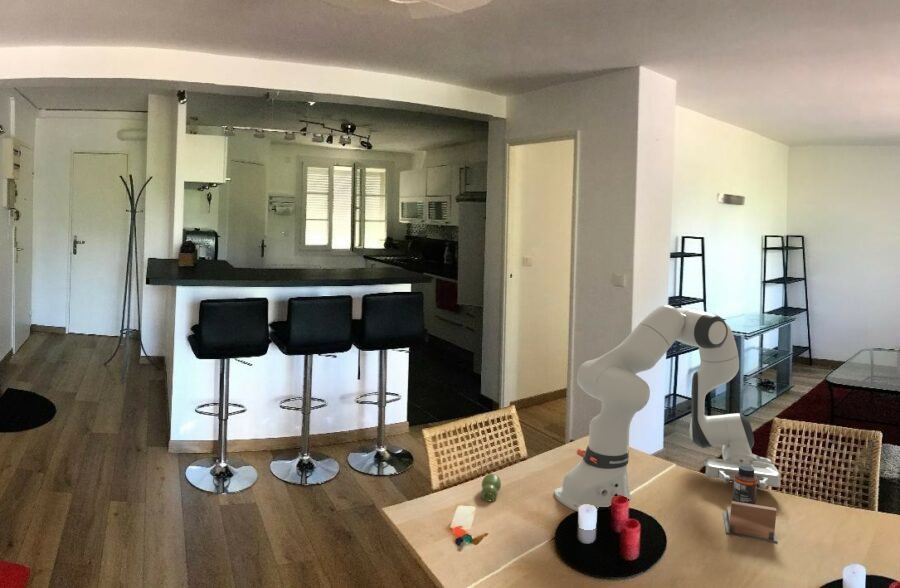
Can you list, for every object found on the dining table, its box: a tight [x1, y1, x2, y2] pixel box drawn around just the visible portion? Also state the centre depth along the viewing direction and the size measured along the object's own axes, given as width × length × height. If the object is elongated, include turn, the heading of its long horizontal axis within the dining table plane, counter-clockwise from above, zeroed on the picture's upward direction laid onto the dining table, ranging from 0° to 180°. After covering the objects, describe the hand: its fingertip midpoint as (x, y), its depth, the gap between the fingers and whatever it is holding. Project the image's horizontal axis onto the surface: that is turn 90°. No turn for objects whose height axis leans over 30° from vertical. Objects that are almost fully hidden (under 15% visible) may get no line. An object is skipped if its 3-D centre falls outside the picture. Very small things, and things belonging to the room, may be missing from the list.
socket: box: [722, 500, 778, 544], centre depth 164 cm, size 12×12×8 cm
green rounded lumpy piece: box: [480, 473, 502, 502], centre depth 181 cm, size 6×5×10 cm
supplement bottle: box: [732, 465, 758, 505], centre depth 177 cm, size 6×6×11 cm
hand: (744, 483), depth 178 cm, fingers open, 8 cm apart
